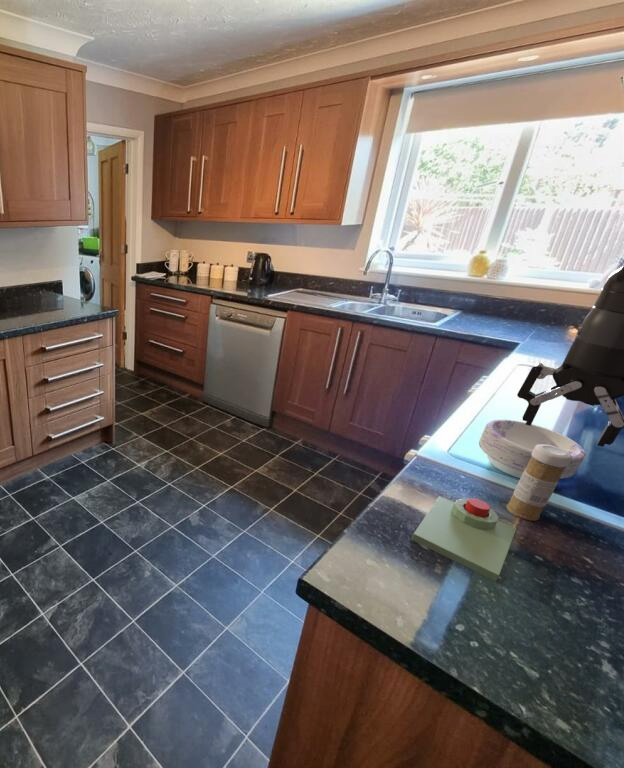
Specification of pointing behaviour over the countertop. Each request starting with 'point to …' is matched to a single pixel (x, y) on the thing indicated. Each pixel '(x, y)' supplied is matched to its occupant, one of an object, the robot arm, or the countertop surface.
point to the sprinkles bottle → (538, 481)
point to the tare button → (477, 507)
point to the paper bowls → (524, 446)
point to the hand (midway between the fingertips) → (562, 433)
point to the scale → (466, 536)
